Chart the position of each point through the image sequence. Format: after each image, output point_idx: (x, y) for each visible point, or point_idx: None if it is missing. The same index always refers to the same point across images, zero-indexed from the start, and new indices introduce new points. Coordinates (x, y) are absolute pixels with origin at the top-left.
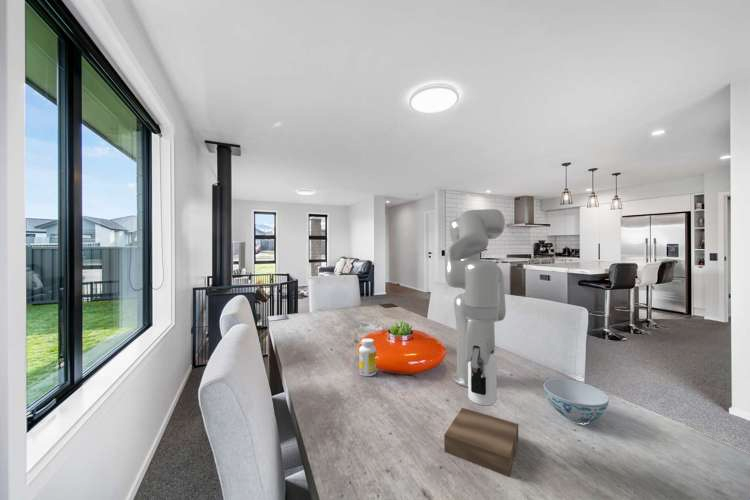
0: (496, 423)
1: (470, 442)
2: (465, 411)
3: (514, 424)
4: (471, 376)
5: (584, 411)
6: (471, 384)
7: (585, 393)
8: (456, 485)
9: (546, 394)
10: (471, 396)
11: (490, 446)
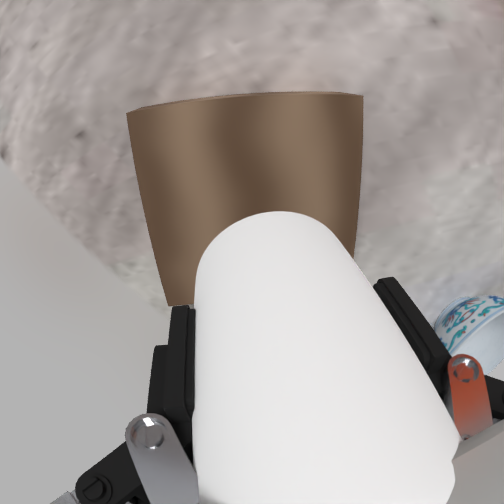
0: None
1: (151, 204)
2: (341, 116)
3: None
4: (163, 397)
5: None
6: (168, 342)
7: (494, 344)
8: (60, 196)
9: (483, 310)
10: (203, 266)
11: (178, 258)
